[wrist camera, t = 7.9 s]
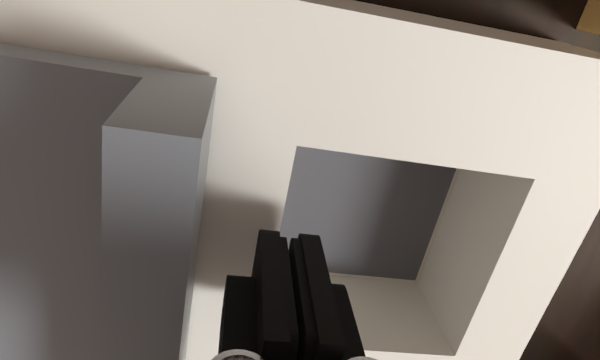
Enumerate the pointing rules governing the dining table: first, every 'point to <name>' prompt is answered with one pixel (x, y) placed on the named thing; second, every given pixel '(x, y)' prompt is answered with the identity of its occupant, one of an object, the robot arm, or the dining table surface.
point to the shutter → (99, 205)
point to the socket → (372, 155)
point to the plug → (590, 18)
